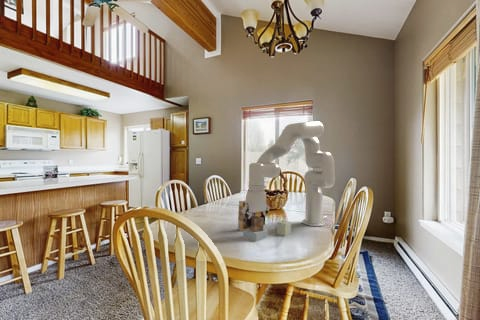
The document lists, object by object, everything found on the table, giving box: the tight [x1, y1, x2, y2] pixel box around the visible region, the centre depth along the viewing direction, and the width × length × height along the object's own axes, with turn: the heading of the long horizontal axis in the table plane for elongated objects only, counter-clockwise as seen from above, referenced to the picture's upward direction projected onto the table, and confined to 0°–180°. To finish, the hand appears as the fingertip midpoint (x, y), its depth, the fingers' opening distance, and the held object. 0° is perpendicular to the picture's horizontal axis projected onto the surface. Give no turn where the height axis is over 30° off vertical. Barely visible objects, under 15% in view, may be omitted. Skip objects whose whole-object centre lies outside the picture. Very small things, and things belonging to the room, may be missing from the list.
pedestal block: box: [243, 228, 268, 242], centre depth 112 cm, size 8×8×4 cm
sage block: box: [276, 219, 292, 237], centre depth 118 cm, size 5×5×6 cm
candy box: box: [237, 200, 257, 232], centre depth 124 cm, size 9×4×15 cm, turn 123°
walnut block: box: [249, 215, 264, 232], centre depth 112 cm, size 5×5×6 cm
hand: (255, 225), depth 112 cm, fingers open, 7 cm apart
